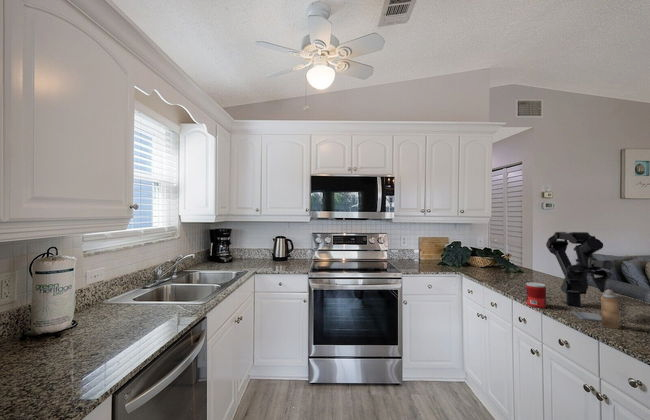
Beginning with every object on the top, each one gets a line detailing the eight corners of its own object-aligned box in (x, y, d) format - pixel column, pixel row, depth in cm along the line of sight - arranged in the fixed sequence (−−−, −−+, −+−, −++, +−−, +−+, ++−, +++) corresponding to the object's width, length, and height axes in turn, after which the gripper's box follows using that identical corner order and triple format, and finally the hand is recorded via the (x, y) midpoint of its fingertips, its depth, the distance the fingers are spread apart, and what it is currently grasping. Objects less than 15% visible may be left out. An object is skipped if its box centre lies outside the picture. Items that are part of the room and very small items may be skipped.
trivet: (572, 313, 132) (572, 311, 132) (597, 315, 129) (597, 313, 129) (582, 319, 124) (582, 318, 124) (608, 322, 120) (608, 320, 120)
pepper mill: (599, 323, 120) (598, 287, 120) (614, 324, 118) (613, 288, 118) (605, 327, 115) (604, 290, 115) (621, 329, 113) (620, 291, 113)
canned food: (549, 308, 138) (549, 286, 138) (531, 307, 140) (530, 285, 140) (540, 303, 146) (540, 282, 146) (523, 302, 147) (523, 282, 147)
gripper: (588, 248, 124) (599, 283, 117) (620, 256, 127) (632, 291, 121) (563, 254, 134) (571, 287, 127) (593, 262, 137) (602, 294, 131)
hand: (594, 290), depth 126 cm, fingers open, 9 cm apart
